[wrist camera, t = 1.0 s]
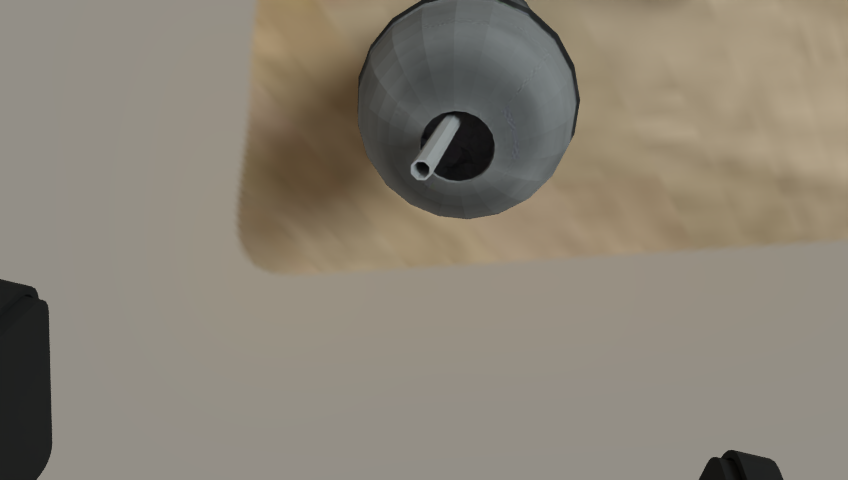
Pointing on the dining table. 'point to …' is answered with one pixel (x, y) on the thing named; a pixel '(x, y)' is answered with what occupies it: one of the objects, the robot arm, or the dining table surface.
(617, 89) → the dining table surface
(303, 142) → the dining table surface
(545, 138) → the beverage cup
